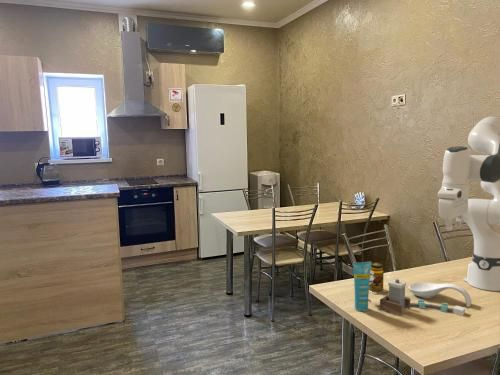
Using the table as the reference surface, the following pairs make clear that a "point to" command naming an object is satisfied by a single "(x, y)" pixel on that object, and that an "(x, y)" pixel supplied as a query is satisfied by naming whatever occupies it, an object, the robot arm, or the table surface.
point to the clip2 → (421, 304)
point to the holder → (393, 305)
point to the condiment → (377, 278)
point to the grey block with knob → (397, 292)
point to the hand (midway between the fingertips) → (453, 227)
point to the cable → (455, 310)
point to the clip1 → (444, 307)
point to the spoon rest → (436, 290)
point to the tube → (361, 284)
